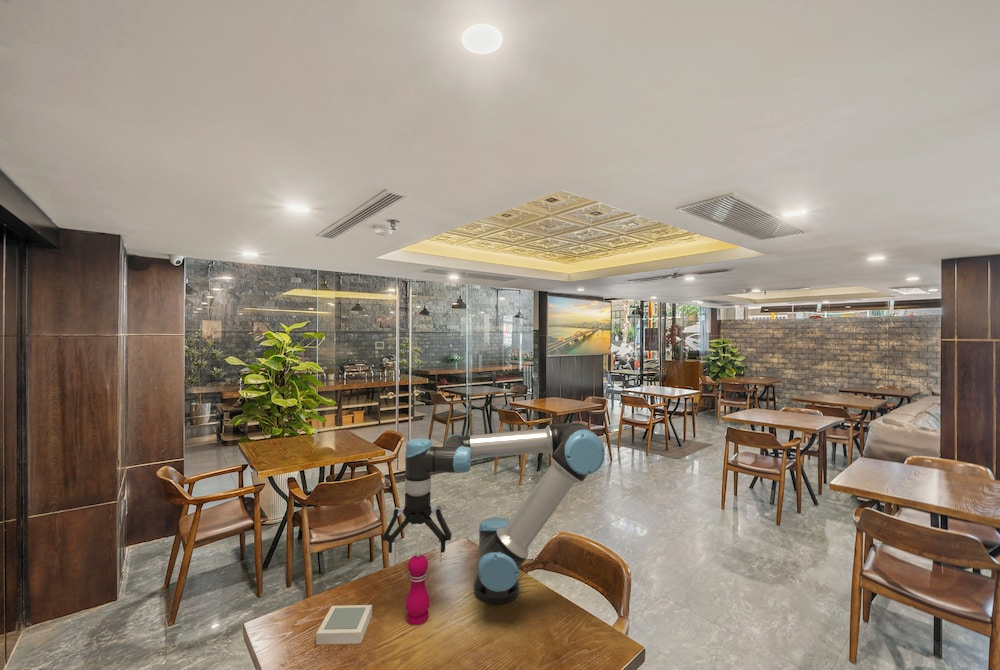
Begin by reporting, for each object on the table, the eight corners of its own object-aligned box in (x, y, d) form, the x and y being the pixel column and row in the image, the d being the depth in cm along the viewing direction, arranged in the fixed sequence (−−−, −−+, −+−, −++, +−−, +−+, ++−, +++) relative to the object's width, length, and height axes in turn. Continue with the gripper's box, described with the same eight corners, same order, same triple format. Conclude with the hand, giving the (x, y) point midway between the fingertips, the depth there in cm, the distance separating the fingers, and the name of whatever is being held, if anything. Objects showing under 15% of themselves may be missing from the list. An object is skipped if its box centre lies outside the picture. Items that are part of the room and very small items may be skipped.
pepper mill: (424, 628, 123) (424, 558, 123) (401, 624, 125) (401, 555, 125) (433, 612, 130) (433, 546, 130) (411, 609, 132) (411, 544, 132)
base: (372, 614, 129) (372, 604, 129) (360, 643, 117) (360, 631, 117) (331, 615, 128) (331, 604, 128) (316, 644, 116) (316, 632, 116)
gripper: (460, 487, 132) (459, 556, 132) (378, 487, 131) (377, 556, 131) (458, 496, 124) (457, 569, 124) (372, 496, 123) (371, 570, 123)
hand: (416, 563), depth 128 cm, fingers open, 13 cm apart
